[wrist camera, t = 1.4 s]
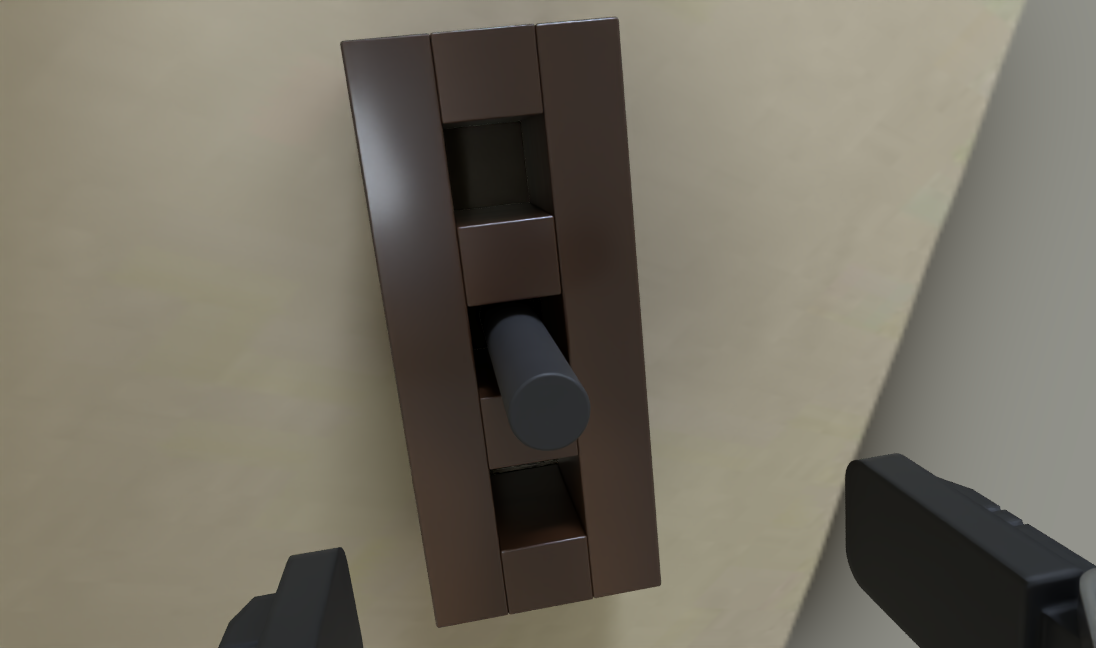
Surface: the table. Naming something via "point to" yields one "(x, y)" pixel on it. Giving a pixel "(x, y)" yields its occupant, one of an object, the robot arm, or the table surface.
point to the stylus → (533, 377)
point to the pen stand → (501, 276)
